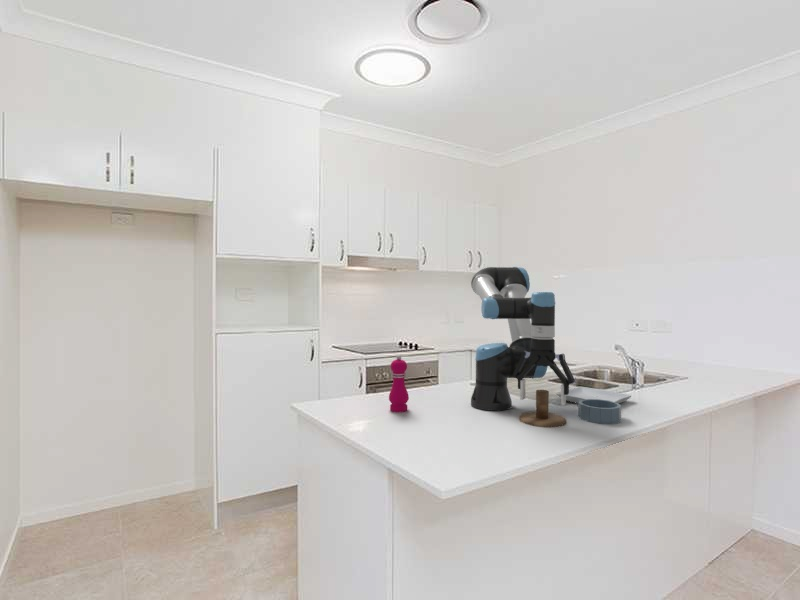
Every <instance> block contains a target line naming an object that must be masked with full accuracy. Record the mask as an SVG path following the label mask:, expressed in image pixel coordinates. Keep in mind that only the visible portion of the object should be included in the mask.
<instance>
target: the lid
mask: <svg viewBox="0 0 800 600" xmlns="http://www.w3.org/2000/svg"><path fill="white" fill-rule="evenodd" d="M549 394H550V393H549V390H547V389H536V391H535V411H528V412H527V411H526V412H523V413H520V414H519V415H518V420H519V422H521V423H523V424H525V425H530V426H533V427H538V428H539V427H540V428H559V426H560V427H563V426H565V425H566V424H567V419H566V418H565V416H562V415H561V414H557V413H553V412H549V410H550V409H549V408H550V407H549V406H550V404H549V402H550V401H549V400H550V398H549V396H550V395H549Z"/></svg>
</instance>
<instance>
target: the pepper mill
mask: <svg viewBox="0 0 800 600" xmlns="http://www.w3.org/2000/svg"><path fill="white" fill-rule="evenodd" d="M407 369H408V363H407V362H406V360H403V359H402V356H401V355H400V354H397V355H396V358H395V359H393V361H392V362H391V363H390V370H391V371H392V373H391V377H392V381H393V382H392V385H391V389H390V391H389V394H388V400H389V402H390V403H391V404H390V405H389V409H390V411H391V412H396V413H400V412H401V413H402V412H406V411H408V404H407V403H408V401H409V399H410V397H409V393H408V390H407V387H406V384H405V383H406V381H405V377H406V374H407V373H406V371H407Z"/></svg>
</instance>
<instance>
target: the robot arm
mask: <svg viewBox="0 0 800 600" xmlns="http://www.w3.org/2000/svg"><path fill="white" fill-rule="evenodd" d="M470 281H471V282H470V284H471V285H470V286H471V289H472V291H473V292H474V294H476V295H477V296H479V298H480V300H481V306H480V307H481V308H480V309H481V316H482V318H484V319H485V320H486V319H487V320H489V319H490V320H507V323H508V326H509V327H508V328H509V332H510V339H511V343H510V344H509V346H508V344H507V343H505V342H496V343H495V342H492V343H486V344H483V345H479V346H478V347H477V348H476V350H475V358H474V360H475V386H474V388H473V392H472V395H471V397H470V406H471V407H473V408H475V409H477V410H478V409H479V410H484V411H492V412H493V411H506V410H509V409H511V408H512V406H513V405H512V403H513V402H512V398H511V395H510V391H509V388H508V379H516V380H517V389H518V390H520V391H519V392H520V397H519V398H520V400H521V401H523V400H525V399H526V379H542V378H543V377H545V375H546V374H547V371H548V367H549V368H550V369H551V370H552V371H553V372H554V373H555V375H556V376H557V378H558V379H559V381H561V383H562V384H561V385H560V392H561V398H560V405H561V406H565V405H566V404H567V400H566V395H568V394H569V390H570V385H573V384H574V383H575V382H576V379H575V377H574V375H573V374H572V371H571V369H570V367H569V365H568V363H567V361H566V355H565V354H564V353H561V354H560V353H558V354H557V353H556V352H555V351H556V349H555V348H556V346H555V344H556V341H555V339H554V338H555V336H556V329H555V328H556V327H555V325H556V323H555V322H556V296H555V293H554V292H552V291H533V292H532V293H531V296H530V297H526V296H527V294H528V293H529V290H530V287H531V286H530V285H531V284H530V276H529V273H528V271H527V270H526V268H524V267H521V266H519V267H518V266H512V267H510V266H507V267H503V266H501V267H500V266H499V267H497V266H496V267H495V266H488V267H485V268H482V269H480V270H479V271H477V272H476V273H474V275H473V276H472V278H471V280H470ZM555 359H557V361H558V362H559V364H560V367H562V370H563V372H562V370H561V369H560V368H559V366H557V363H556V362H555Z"/></svg>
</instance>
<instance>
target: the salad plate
mask: <svg viewBox="0 0 800 600" xmlns="http://www.w3.org/2000/svg"><path fill="white" fill-rule="evenodd" d="M594 395H595V396H598V397H594ZM556 396H558V398H560V399H561V391H560V392H557V393H556ZM631 397H632V394H629V393H628V394H627V393H623V392H616V391H611V390H610V391H609V390H605V389H601V388H600V389H598V388H593V387H587V386H586V387H585V386H578V387H574V388H569V394H568V395H566V402H569V401H570V402H569V403H572V402H576V403H575V404H577V403H578V402H579V401H580V400H585V399H600V400H608V401H612V402H616V403H618V404H620V403H623V402H626V401H628V400H630V399H631Z"/></svg>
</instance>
